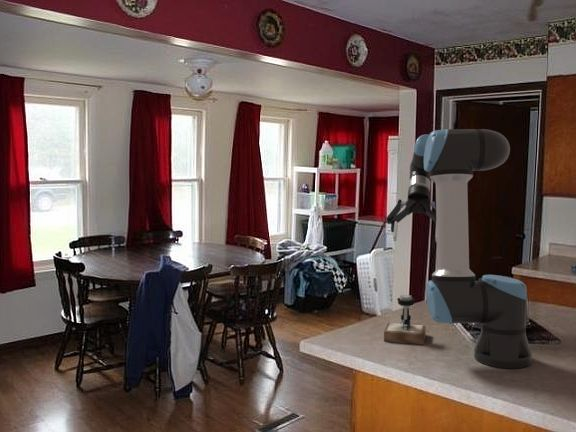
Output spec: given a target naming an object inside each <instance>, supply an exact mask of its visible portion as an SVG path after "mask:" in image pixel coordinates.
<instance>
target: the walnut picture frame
mask: <svg viewBox="0 0 576 432" xmlns="http://www.w3.org/2000/svg"><path fill="white" fill-rule="evenodd" d="M426 329H427V327H426V325H425V324H424V325H423V324H412V323H411V327H410V326H409V327H408V329H403V323H394V322H387V324H386V327H385V329H384V331H383V342H389V343H390V342H391V343H403V344H416V345H424V344H425V339H426Z"/></svg>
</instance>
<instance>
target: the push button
mask: <svg viewBox="0 0 576 432" xmlns="http://www.w3.org/2000/svg"><path fill="white" fill-rule="evenodd" d="M397 304H398V305H399V306H400V307H402V314H401V315H400V320H401V321H400V324H403V329H408V327H409V326H410V327H411V324H412V323H411V319H412V316H411V315H410V308H409V307H412V306H413V305H414V304H415V298H413V296H412V295H409V294H401V295H400V296H399V297H398V298H397Z"/></svg>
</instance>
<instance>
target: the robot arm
mask: <svg viewBox="0 0 576 432" xmlns="http://www.w3.org/2000/svg"><path fill="white" fill-rule="evenodd" d="M510 152H511V145H510V143H509V141H508V139H507V138H506V137H505V136H504V135H503V134H502V133H500V132H498V131H495V130H491V129H485V128H481V129H480V128H479V129H478V128H477V129H474V128H473V129H471V128H470V129H468V128H466V129H465V128H463V129H462V128H461V129H458V128H454V129H451V128H445V129H437V130H436V129H435V130H433V131H431V132H430V133H429V134H427V133H426V134H422V135H420V136H419V137H418V138H417V139H416V141H415V144H414V147H413V154H412V158H411V160H410V165H409V180H408V189H407V190H408V191H407V200H406V201H403V200H402V199H400V198H399V199H398V200H397V204H396V205H395V206H394V208H392V210H391V211H390V213H389V214H388V215H387V216H386V224H388V225H390V232H392V233H393V235H392V236H393V242H397V236H398V227H399V226H398V224H399V222H401V221H402V220H404V218H406V217H407V216H410V214H421V215H422V214H425V216H428V217H429V218H430V219H431V220H432V221H433V222H434V223H435V235H434V237H435V243H436V257H437V259H436V265H437V266H436V267H437V268H436V270H435V271H434V272H433V273H432V274H431V280H428V281H427V282H426V283H425V296H426V303H427V304H426V305H427V307H428V311H429V314H430V316H431V318H432V320H433V321H434V322H436V323H440V324H449V325H452V324H480V325H481V326H480V327H481V328H480V329H481V330H480V333H479V336H478V338H477V341H476V343H475V346H474V353H473V354H474V355H473V357H474V359H475V360H476V361H478V362H479V363H481V364H483V365H487V366H491V367H495V368H501V369H521V368H526V367H529V366H531V365H532V361H533V355H532V354H533V353H532V351H531V346H530V344H529V341H528V338H527V330H526V329H527V308H528V307H527V304H528V294H527V293H528V292H527V285H526V284H525V283H524V282H523V281H521V280H519V279H516V278H513V277H510V276H505V275H504V276H503V275H498V274H497V275H496V274H484V275H482V277H481V278H482V281H478V280H476V274H475V273H474V272H473V271H472V270H471V269H470V257H469V256H470V248H469V247H470V245H469V243H470V242H469V238H470V237H469V205H468V204H469V202H468V200H469V199H468V196H469V195H468V182H469V181H470V180H471V179H472V178H473V176H474V172H477V171H478V172H479V171H481V172H482V171H488V170H489V171H490V170H493V169H495V168H498V167H499V166H500V167H501V165H503V164H504V163H505V162H506V161H507V160H508V158H509V156H510ZM431 181H432V182H433V183H434V184H435V200H434V201H431V200H430V197H431V196H430V194H431V193H430V192H431ZM404 207H405V208H404ZM430 207H432V209H435V212H434V211H433V210H432V209H431V208H430ZM403 208H404V209H403Z"/></svg>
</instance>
